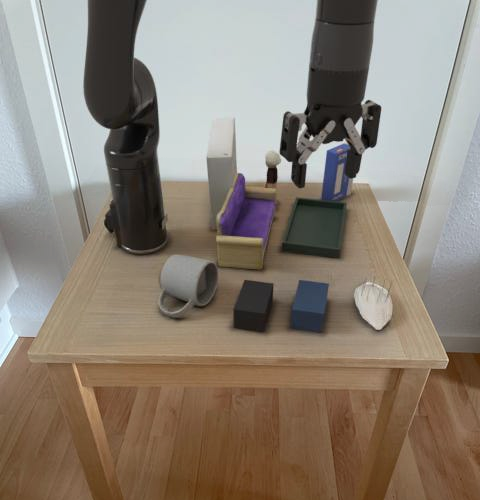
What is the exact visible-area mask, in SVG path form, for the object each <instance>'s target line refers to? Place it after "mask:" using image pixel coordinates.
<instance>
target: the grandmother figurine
mask: <svg viewBox="0 0 480 500" xmlns="http://www.w3.org/2000/svg"><path fill="white" fill-rule="evenodd" d="M264 157H265V158H264V159H265V166H266V167H267V171H266V181H265V184H264V187H263V188H272V189H277V186H278V179H279V173H278V168H277V166H278V165H280V164H281V162H282V159H281V155H280V153H278V152H276V151H275V150H274V149H273V150H272V149H271V150H268V151H267V152H266V153H265V156H264ZM277 206H278V202H277V201H276V205H275V211H276V209H277Z"/></svg>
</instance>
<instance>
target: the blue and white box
mask: <svg viewBox="0 0 480 500" xmlns="http://www.w3.org/2000/svg"><path fill="white" fill-rule="evenodd" d="M349 149H351V148H350V147H349V145H348V144H347V142H346V141H345V142H344V143H342V144H339V145H337V146H335V147H332V148H330V149H327V150H326V154H325V163H324V173H323V179H322V189H321V198H320V200H328V201H338V202H339V201H340V200H342V199H344V198H346V197H348V196H350V195H351V194H352V189H353V183H354V182H353V181H354V178H352V179H350V178H349V177H348V176H346V175H345V164H346V158H347V151H348V150H349Z"/></svg>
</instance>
